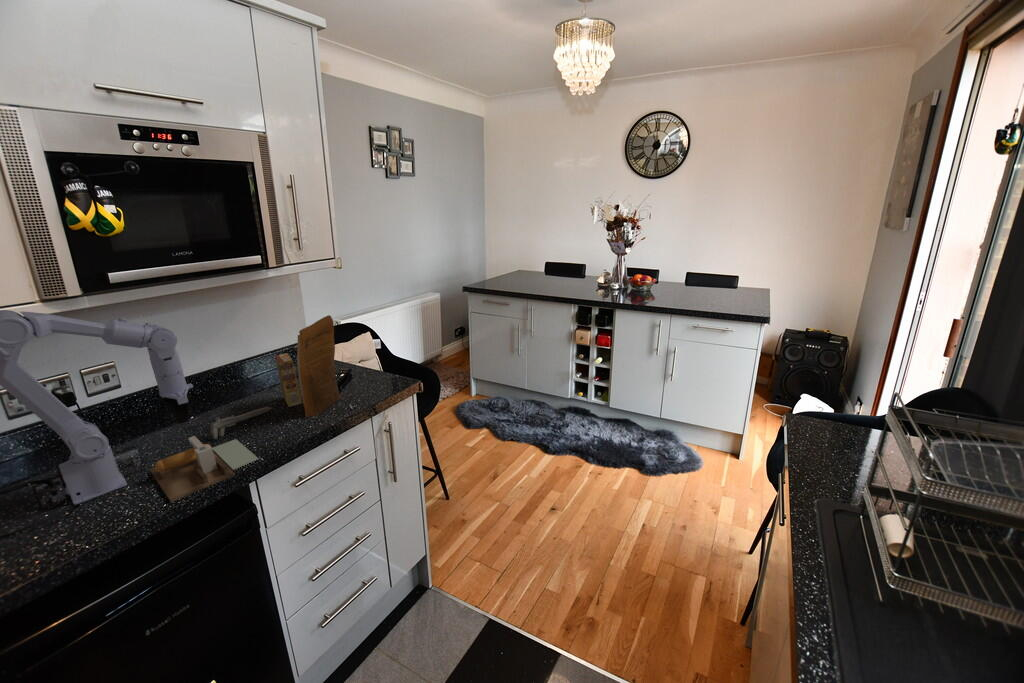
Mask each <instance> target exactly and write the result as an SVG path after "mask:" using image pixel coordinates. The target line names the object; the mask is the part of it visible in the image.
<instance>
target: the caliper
mask: <svg viewBox="0 0 1024 683" xmlns="http://www.w3.org/2000/svg"><path fill="white" fill-rule="evenodd" d="M272 409H273V408H272V407H269V406H264V407H262V408H259V409H255V410H252V411H248V412H246V413H242V414H239V415H236V416H234V415H232V416H228V417H225V418H221V419H220V417H219V416H216V418H212V422H210V432H211V436H212V439H213V440H217V439H218V438H223V437H224V435H225V430H226V427H227V428H230V427H233V426H236V423H238V422H242V421H244V420H247V419H250V418H253V417H257V416H259V415H262V414H266V413H268V412H269V411H270V410H272ZM222 436H223V437H222Z"/></svg>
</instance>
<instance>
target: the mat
mask: <svg viewBox="0 0 1024 683" xmlns="http://www.w3.org/2000/svg"><path fill="white" fill-rule="evenodd" d="M212 450H213V452H214V453H215V454H216V455H217V456H218V457H219V458H220V459H221V460H222V461H223V462H224V463H225V464H226V465H227V466H228V467H229V468H230V469H231V470H232V471H233V470H234V471H236V470H238V468H239V469H241V468H243V467H242V466H244V467H246V466H248V465H250V464H249V463H251V464H253V463H255V462H254V461H256V460H258V461H259V458H258V456H256V454H254V453H253V452H252V451H251V450H249V449H248V448H247V447H246V446H245V445H244V444H242V443H241V442H240V441H239V440H238V439H236V438H235V439H232V440H230V441H226V442H225V443H222V444H218V445H217V446H213V447H212ZM252 462H253V463H252ZM256 462H257V461H256ZM247 464H248V465H247ZM245 465H246V466H245ZM240 467H241V468H240ZM235 469H236V470H235Z"/></svg>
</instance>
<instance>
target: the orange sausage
mask: <svg viewBox="0 0 1024 683" xmlns="http://www.w3.org/2000/svg"><path fill="white" fill-rule="evenodd" d="M202 444H203V443H202ZM203 445H204V446H206V445H209V446H210V447H211V448H213V447H212V446H211V444H209V443H204V444H203ZM194 450H195V448H194V447H192V448H191V449H187V450H185V451H182V452H179V453H176V454H172V455H171V456H168V457H165V458H162V459H159V460H158V461H156V463H155V464H154V467H155V469H156V470H157V471H158V472H162V471H165V470H168V469H173V468H176V467H178V466H181V465H184V464H186V463H189V462H192V461H194V460H197V458H196V455H195V451H194Z"/></svg>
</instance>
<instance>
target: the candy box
mask: <svg viewBox="0 0 1024 683" xmlns="http://www.w3.org/2000/svg"><path fill="white" fill-rule="evenodd" d="M274 362H275V365H276V369H277V372H278V379H279V381H280V386H281V387H280V388H281V391H282V395H283V398H284V401H285V402H286V404H287V406H288V407H289V408H290V407H294V406H298V405H301V404H302V403H303V402H302V398H301V397H302V396H301V394H300V389H299V384H298V379H297V373H296V371H295V365H294V360H293V359H292V357H291V356H290V355H289V354H288V353H287V352H286V353H282V354H276V355H274Z"/></svg>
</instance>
